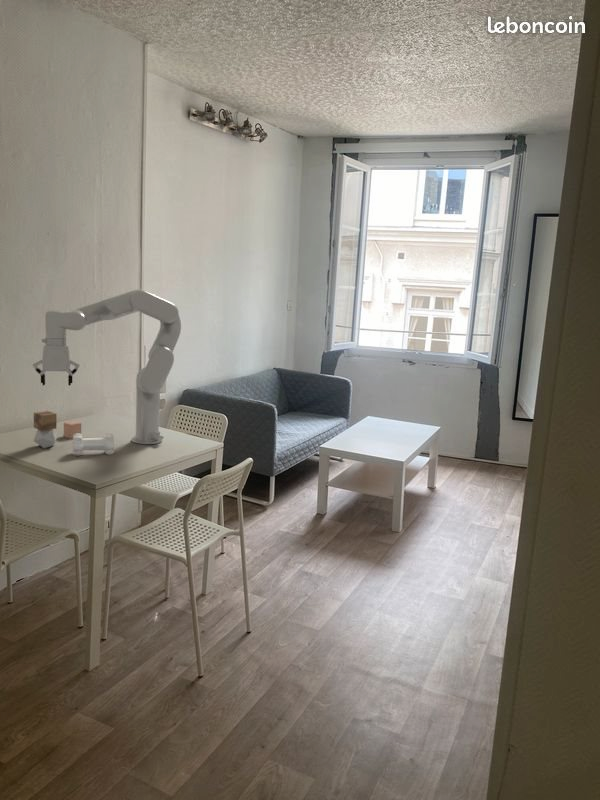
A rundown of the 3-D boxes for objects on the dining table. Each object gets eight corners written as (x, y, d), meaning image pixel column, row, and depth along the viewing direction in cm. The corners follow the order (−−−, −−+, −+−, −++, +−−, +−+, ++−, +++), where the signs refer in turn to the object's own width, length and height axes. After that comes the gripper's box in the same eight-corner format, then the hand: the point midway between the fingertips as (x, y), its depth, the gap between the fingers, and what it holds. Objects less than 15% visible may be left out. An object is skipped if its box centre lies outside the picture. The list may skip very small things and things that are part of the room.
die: (60, 449, 247) (63, 427, 251) (43, 442, 240) (46, 420, 244) (44, 454, 250) (47, 431, 254) (27, 447, 243) (31, 424, 247)
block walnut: (56, 428, 247) (56, 413, 246) (42, 430, 242) (42, 415, 241) (47, 425, 250) (47, 410, 249) (33, 427, 245) (33, 412, 244)
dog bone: (112, 450, 250) (112, 430, 248) (114, 456, 242) (115, 436, 240) (72, 451, 244) (72, 431, 242) (73, 458, 236) (73, 437, 235)
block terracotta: (81, 436, 266) (81, 423, 265) (70, 438, 262) (70, 424, 261) (74, 434, 269) (74, 420, 268) (63, 436, 265) (63, 422, 264)
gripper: (31, 342, 241) (32, 386, 244) (78, 343, 246) (79, 386, 249) (33, 340, 248) (34, 383, 251) (79, 341, 253) (80, 383, 256)
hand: (56, 384), depth 250 cm, fingers open, 9 cm apart
